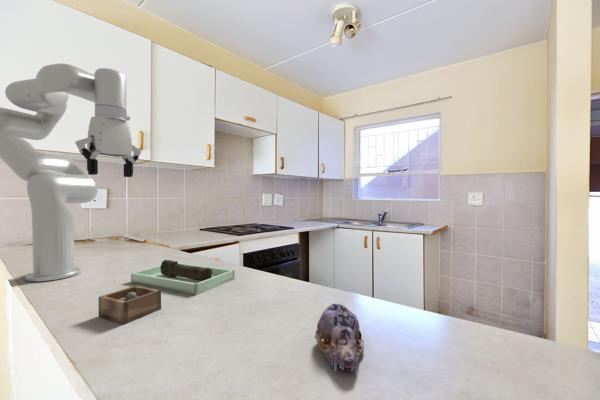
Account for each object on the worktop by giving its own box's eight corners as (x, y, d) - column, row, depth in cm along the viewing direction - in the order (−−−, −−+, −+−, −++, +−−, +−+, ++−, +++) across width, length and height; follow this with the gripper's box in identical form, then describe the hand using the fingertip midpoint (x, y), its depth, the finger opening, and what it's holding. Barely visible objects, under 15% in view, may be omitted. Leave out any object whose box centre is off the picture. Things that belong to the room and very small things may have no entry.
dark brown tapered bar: (213, 281, 78) (213, 264, 78) (202, 284, 75) (201, 267, 74) (169, 272, 87) (169, 257, 87) (157, 275, 84) (157, 260, 84)
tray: (131, 282, 79) (130, 273, 79) (174, 269, 92) (174, 262, 92) (196, 294, 69) (196, 284, 69) (234, 278, 82) (234, 270, 82)
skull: (369, 382, 36) (369, 335, 36) (310, 377, 37) (310, 331, 37) (361, 336, 48) (361, 301, 48) (316, 333, 49) (316, 299, 49)
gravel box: (98, 316, 56) (98, 295, 56) (136, 303, 63) (136, 284, 63) (124, 324, 53) (123, 301, 53) (161, 308, 60) (160, 288, 60)
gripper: (131, 124, 89) (132, 178, 89) (68, 108, 73) (68, 174, 73) (147, 121, 86) (148, 177, 86) (84, 104, 70) (85, 173, 70)
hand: (111, 175), depth 80 cm, fingers open, 9 cm apart
